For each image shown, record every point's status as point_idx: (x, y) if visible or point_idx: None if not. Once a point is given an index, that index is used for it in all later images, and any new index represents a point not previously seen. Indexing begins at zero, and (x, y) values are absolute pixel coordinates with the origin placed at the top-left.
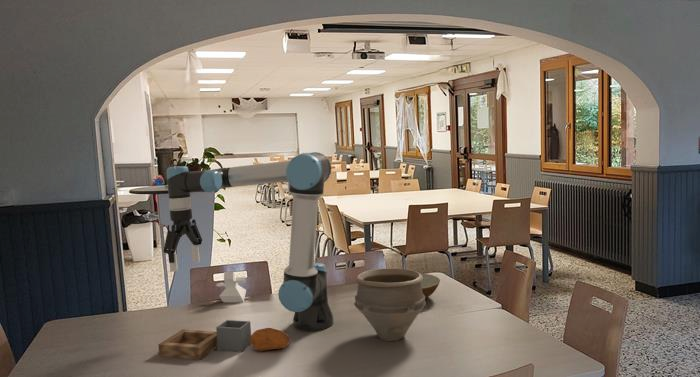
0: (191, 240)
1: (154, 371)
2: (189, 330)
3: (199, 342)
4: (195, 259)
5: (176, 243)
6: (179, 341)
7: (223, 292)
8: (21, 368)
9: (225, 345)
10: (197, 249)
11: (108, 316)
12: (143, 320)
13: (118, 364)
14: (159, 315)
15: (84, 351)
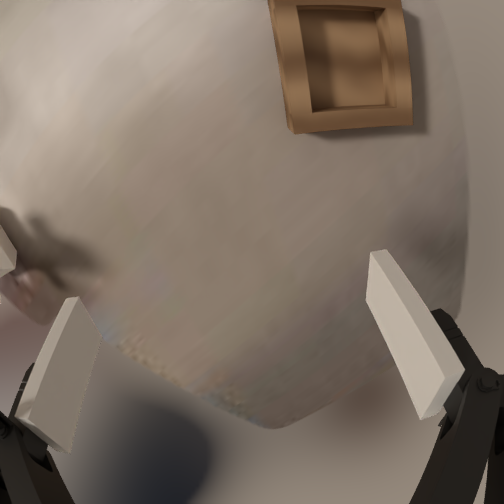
0: (63, 493)
1: (457, 77)
2: (296, 103)
3: (307, 51)
4: (84, 334)
5: (466, 486)
6: (334, 107)
7: (2, 266)
8: None
9: None
10: (42, 386)
11: (222, 396)
12: (207, 335)
13: (443, 183)
14: (164, 327)
15: None
